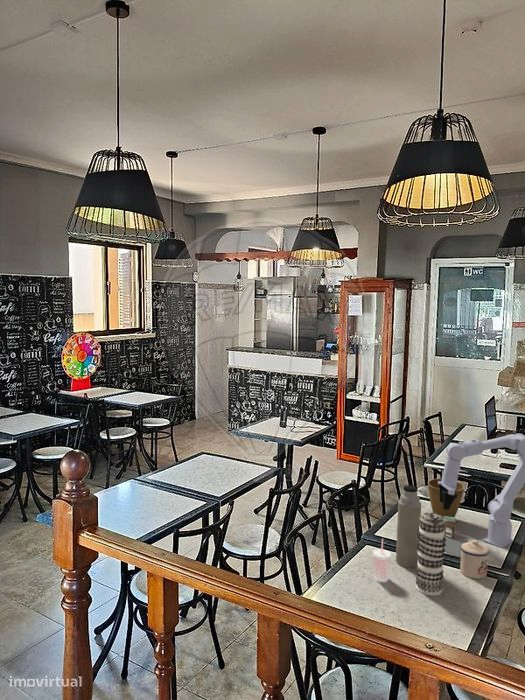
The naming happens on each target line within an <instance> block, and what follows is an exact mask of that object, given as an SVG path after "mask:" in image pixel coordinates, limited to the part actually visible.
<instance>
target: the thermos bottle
mask: <svg viewBox="0 0 525 700" xmlns="http://www.w3.org/2000/svg"><path fill="white" fill-rule="evenodd" d="M402 488H403V491H402V493H401V494H400V497H399V500H398V502H397V521H396V523H397V524H396V525H397V527H396V530H397V531H396V544H395V545H396V548H395V550H396V551H395V562H396V563H397V565H399V566H401V567H405V568H410V569H411V567H412V568H417V567H416V566H417V565H418V556H419V555H418V553H417V550H418V548H417V539H418V538H417V532H418V531H417V529H418V528H419V526H420V517H421V516H422V503H421V502H420V500H421V499H420V496H419V495H418V487H416V486H415V485H414V486H413V485H403V487H402ZM419 537H420V536H419Z"/></svg>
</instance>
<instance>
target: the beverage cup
mask: <svg viewBox="0 0 525 700" xmlns="http://www.w3.org/2000/svg"><path fill="white" fill-rule="evenodd" d="M372 556H373V578H374V580H375V581H376V582H379V583H385V582H387V581H388V580H389V571H390V564H391V563H390V562H391V557H392V553H391V552H390V551H389V550H386V549H384V538H381V548H378V549H377V548H376V549H374V550H373V551H372Z"/></svg>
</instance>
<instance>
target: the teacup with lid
mask: <svg viewBox="0 0 525 700" xmlns="http://www.w3.org/2000/svg"><path fill="white" fill-rule="evenodd" d="M462 543H463V544H462V545H461V556H460V566H459V567H460V568H459V571H460V572H461V574H462V575H464V576H466V577H468V578H471V579H480V580H481V579H484V578H486V577H487V573H488V559H489V558H488V557H489V554H490V551H489V549H488V547H487V546H485V545H484V544H481V543H479V541H478V540H476V539H473V540H471V541H469V542H468V541H467V542H462Z"/></svg>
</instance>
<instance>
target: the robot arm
mask: <svg viewBox="0 0 525 700" xmlns="http://www.w3.org/2000/svg"><path fill="white" fill-rule="evenodd" d="M499 448H501V449H502V448H508V449H509V450H512V451H516V453H517V456H518V457H519V461H518V463H517V465H516V467H515V469H514V470H513V472H512V473H511V475H510V477H509V478H508V480H507V482H506V484H505V485H504V487H503V489H502V491H500V493H499V494H498V495H495V497H494V499H492V500H491V501H489V503H488V505H487V510H488V511H489V513H490V514H489V516H488V530H487V537H485V538H484V539H483V542H486V543H489V544H491V545H494V546H497V547H501V548H505V547H507V545H509V544H511V543H513V542H514V539H512V529H513V527H512V526H513V525H512V521H511V520H510V519H511V518H512V512H513V509H514V501H515V500H516V498H517V497H518V495H519V493H520V491H521V489H522V488H523V486H524V485H525V434H523V433H518V432H517V433H515V434H514V433H511V434H507V435H504V436H503V435H502V436H500V437H496V438H492V439H488V440H484V441H481V440H479V439H475V438H471V439H470V440H468V441H463V442H462V441H459V442H458V443H456V442H452V443H449V445H447V447H446V448H445V450H446V453H447V454H446V460H445V462H444V468H443V471H442V477H441V479H442V481H438V486H439V491H440V502H443V509H446V510H449V509H450V507H451V505H452V503H453V501H454V500H455V499H456V498H457V494H454V493H455V489H456V487H457V486H456V484H457V482H458V478H459V474H460V469H461V463H462V460H463V459H464V458H467V457H472V456H478V455H481V454H483V453H484V452H485V451H487V450H493V449H499Z"/></svg>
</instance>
